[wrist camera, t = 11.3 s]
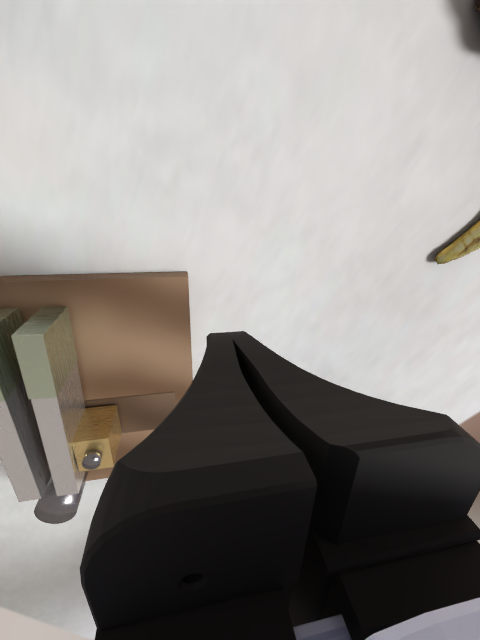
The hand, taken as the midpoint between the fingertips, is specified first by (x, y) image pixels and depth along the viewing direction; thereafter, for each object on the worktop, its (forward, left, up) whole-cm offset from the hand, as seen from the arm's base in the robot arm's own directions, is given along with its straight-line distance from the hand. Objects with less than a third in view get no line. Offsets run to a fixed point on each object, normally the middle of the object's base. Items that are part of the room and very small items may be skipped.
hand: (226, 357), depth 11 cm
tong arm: (-6, +9, -8) cm, 14 cm away
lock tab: (-10, +7, -8) cm, 15 cm away
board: (-8, +7, -10) cm, 14 cm away
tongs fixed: (-8, +10, -9) cm, 16 cm away
